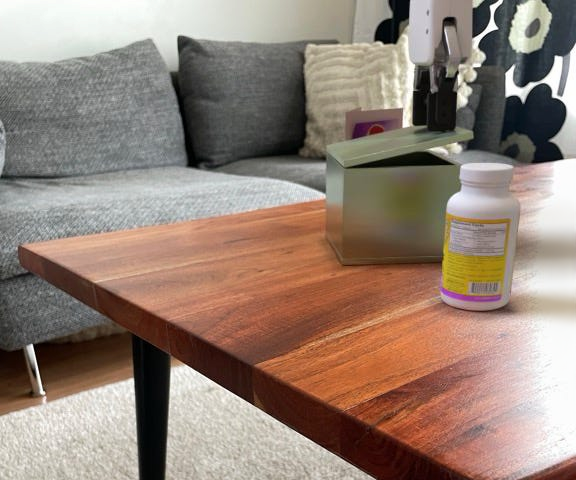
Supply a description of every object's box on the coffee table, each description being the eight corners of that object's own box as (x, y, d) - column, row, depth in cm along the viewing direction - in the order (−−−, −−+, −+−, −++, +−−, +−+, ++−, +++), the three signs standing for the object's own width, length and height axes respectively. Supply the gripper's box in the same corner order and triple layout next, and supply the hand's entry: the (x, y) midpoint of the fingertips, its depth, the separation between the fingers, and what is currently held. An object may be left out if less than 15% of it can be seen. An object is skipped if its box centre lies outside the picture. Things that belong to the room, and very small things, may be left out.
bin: (425, 233, 97) (431, 150, 92) (457, 261, 84) (466, 166, 79) (325, 236, 96) (326, 152, 92) (341, 265, 83) (343, 168, 78)
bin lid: (437, 126, 91) (433, 88, 89) (473, 138, 78) (469, 94, 76) (326, 151, 92) (320, 114, 90) (344, 168, 78) (337, 124, 76)
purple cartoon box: (347, 223, 103) (350, 112, 97) (313, 216, 108) (314, 109, 102) (402, 213, 110) (407, 108, 103) (367, 206, 115) (370, 105, 109)
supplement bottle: (464, 287, 75) (477, 158, 69) (522, 301, 70) (540, 165, 65) (425, 301, 70) (435, 166, 65) (484, 317, 66) (499, 173, 61)
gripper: (502, -64, 69) (488, 133, 77) (451, -42, 85) (443, 120, 92) (425, -61, 69) (419, 137, 76) (388, -39, 84) (386, 123, 92)
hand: (432, 126), depth 84 cm, fingers closed on bin lid, 6 cm apart
